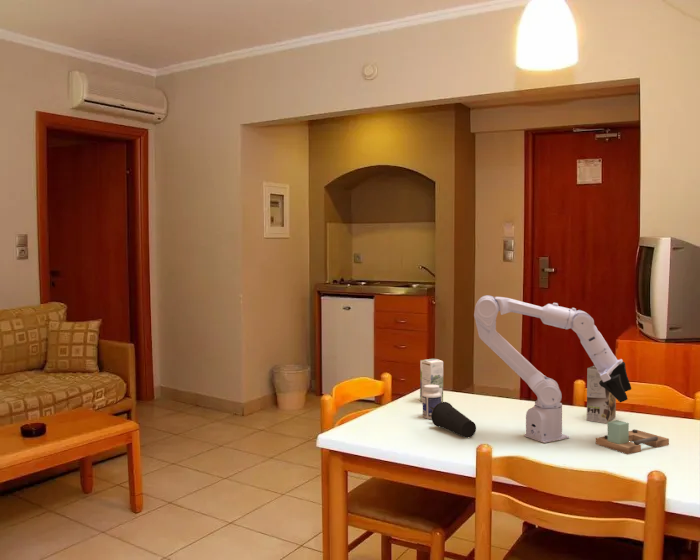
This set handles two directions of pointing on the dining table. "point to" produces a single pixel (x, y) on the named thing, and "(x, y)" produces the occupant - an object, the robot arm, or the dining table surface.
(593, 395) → the coffee box
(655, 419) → the dining table surface
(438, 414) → the drinking cup
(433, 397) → the pill bottle
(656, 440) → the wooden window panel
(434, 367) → the syrup box
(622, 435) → the green block
